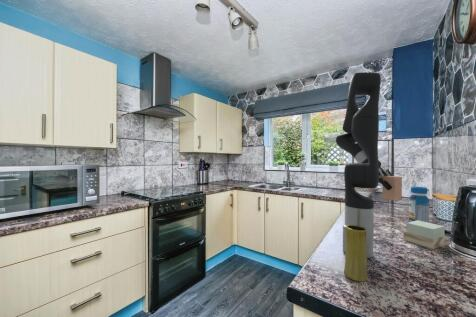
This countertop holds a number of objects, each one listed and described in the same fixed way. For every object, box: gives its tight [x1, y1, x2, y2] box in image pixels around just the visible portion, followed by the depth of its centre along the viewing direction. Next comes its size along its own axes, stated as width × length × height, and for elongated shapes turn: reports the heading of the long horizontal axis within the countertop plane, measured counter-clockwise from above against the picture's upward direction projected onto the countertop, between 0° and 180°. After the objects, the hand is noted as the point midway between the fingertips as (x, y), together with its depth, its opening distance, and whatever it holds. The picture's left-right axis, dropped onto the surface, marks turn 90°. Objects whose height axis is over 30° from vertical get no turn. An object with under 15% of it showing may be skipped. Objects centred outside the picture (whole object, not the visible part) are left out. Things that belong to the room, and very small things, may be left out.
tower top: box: [405, 220, 446, 239], centre depth 85 cm, size 9×9×4 cm
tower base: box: [402, 230, 447, 250], centre depth 86 cm, size 10×10×4 cm
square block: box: [381, 175, 403, 202], centre depth 90 cm, size 5×5×10 cm
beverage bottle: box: [408, 186, 430, 223], centre depth 110 cm, size 8×8×20 cm
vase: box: [343, 225, 369, 282], centre depth 60 cm, size 6×6×14 cm
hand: (394, 188), depth 89 cm, fingers closed on square block, 5 cm apart
